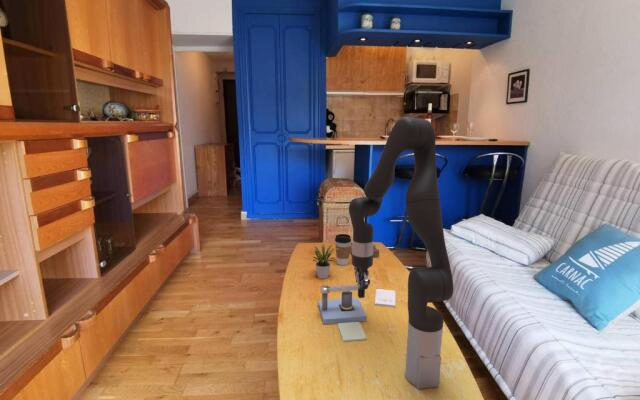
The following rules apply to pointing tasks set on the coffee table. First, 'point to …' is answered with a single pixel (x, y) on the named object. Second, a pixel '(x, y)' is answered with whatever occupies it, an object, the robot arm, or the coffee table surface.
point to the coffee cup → (342, 248)
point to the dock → (333, 311)
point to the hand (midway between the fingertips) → (361, 296)
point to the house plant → (323, 261)
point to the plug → (346, 301)
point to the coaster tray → (375, 251)
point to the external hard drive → (385, 298)
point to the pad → (351, 331)
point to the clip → (338, 288)
